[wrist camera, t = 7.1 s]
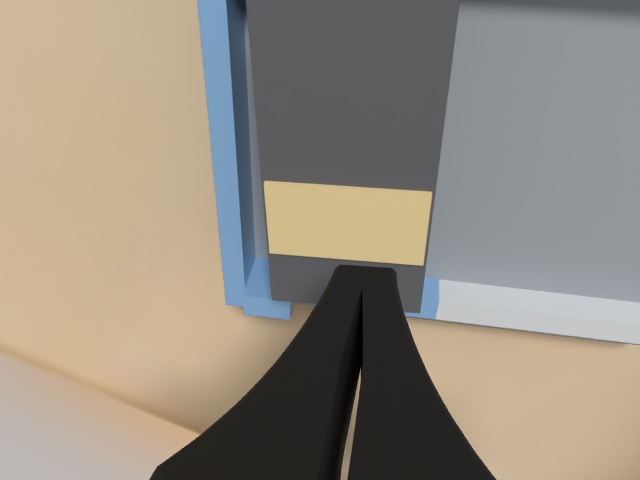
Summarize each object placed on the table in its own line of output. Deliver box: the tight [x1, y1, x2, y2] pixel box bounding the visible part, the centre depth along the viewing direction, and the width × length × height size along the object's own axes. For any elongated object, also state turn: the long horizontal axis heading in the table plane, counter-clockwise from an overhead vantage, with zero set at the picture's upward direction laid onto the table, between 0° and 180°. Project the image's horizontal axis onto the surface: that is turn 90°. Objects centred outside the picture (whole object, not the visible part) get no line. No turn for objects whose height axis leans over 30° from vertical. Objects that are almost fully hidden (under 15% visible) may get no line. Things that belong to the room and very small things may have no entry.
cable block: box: [246, 0, 460, 314], centre depth 18 cm, size 5×10×4 cm, turn 1°
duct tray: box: [197, 0, 640, 345], centre depth 19 cm, size 17×16×3 cm
